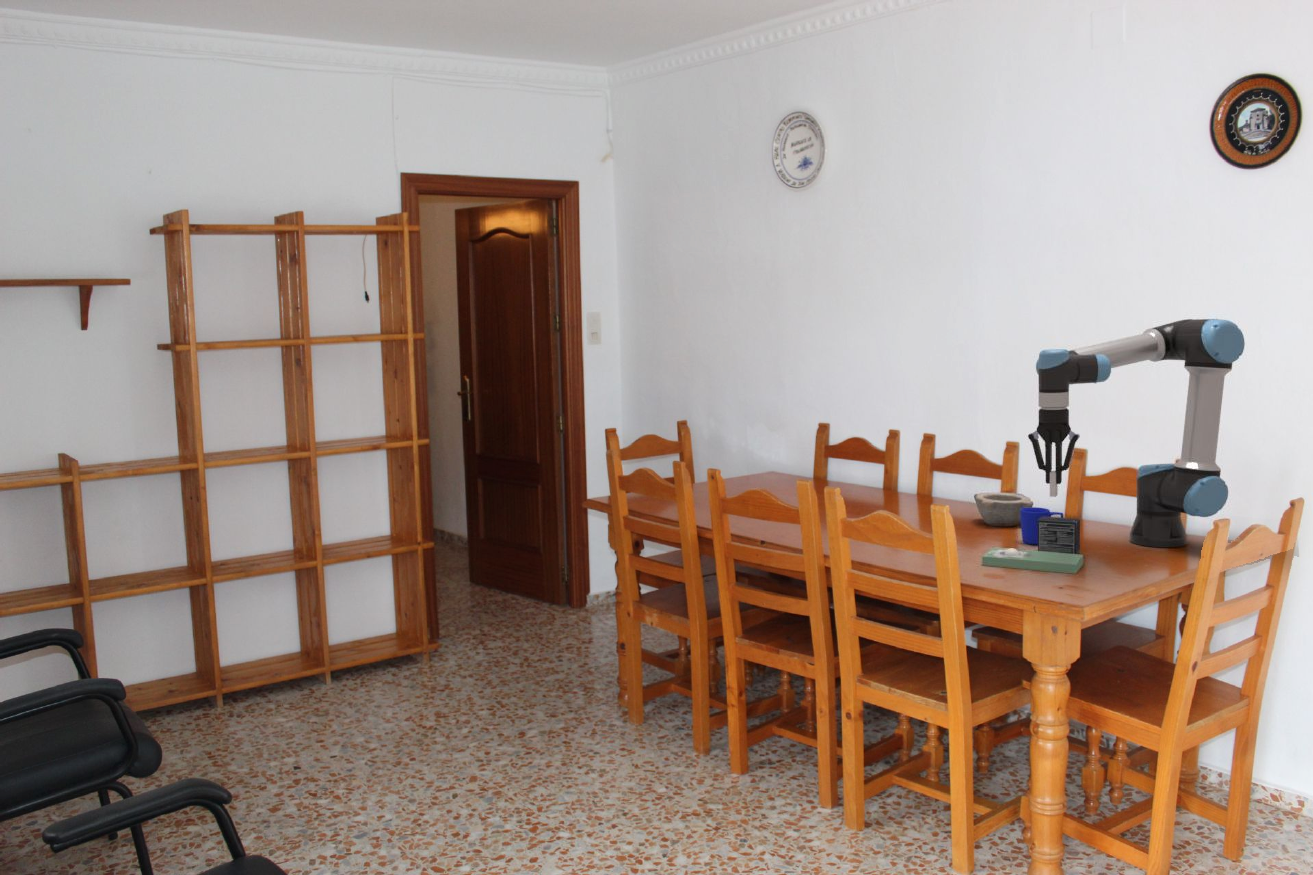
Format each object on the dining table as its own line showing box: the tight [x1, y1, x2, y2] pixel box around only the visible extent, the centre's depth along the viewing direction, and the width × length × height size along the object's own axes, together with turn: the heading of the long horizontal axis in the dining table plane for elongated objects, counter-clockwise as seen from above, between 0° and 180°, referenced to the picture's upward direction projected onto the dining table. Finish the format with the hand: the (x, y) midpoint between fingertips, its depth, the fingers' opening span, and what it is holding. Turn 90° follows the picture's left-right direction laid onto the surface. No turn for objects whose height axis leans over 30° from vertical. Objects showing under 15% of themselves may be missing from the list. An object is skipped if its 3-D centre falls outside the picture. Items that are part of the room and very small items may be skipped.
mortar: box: [973, 492, 1034, 528], centre depth 339 cm, size 17×17×9 cm
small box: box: [1037, 516, 1081, 555], centre depth 295 cm, size 11×6×10 cm, turn 59°
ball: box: [1004, 547, 1020, 556], centre depth 288 cm, size 4×4×4 cm
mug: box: [1020, 506, 1064, 546], centre depth 310 cm, size 8×12×10 cm
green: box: [981, 546, 1084, 575], centre depth 286 cm, size 24×12×2 cm, turn 59°
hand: (1053, 495), depth 281 cm, fingers closed
